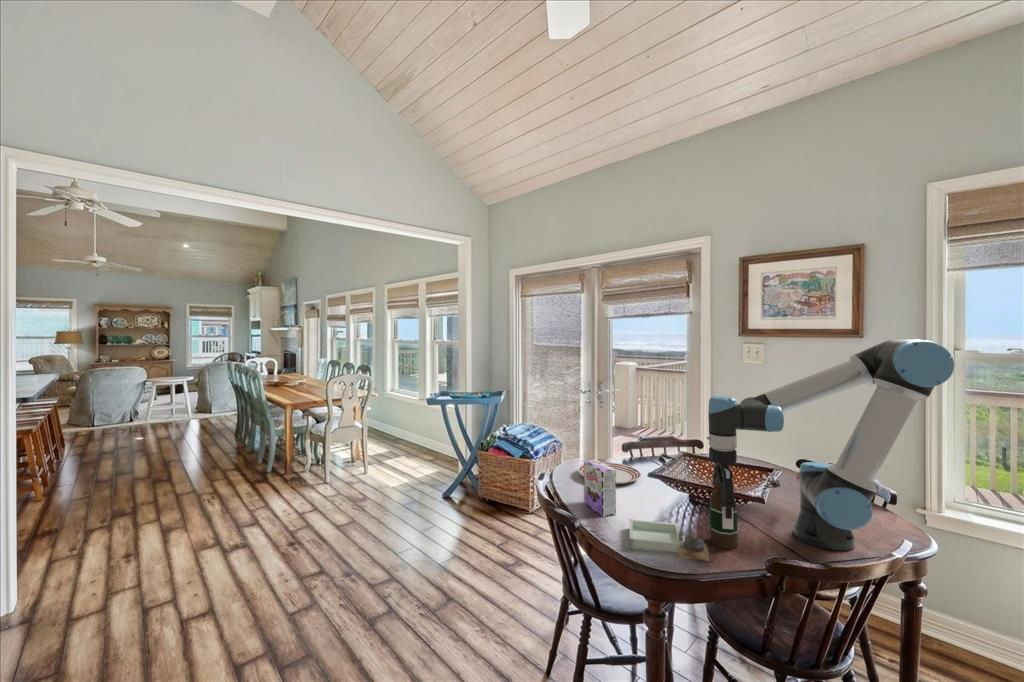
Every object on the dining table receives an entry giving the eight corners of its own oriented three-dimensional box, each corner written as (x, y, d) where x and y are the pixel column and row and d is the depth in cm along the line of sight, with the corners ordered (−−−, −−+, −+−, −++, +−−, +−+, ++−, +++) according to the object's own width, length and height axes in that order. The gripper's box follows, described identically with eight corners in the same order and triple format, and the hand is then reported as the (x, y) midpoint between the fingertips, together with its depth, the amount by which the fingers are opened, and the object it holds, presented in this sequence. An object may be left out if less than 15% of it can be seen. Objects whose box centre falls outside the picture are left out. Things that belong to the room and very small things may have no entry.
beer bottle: (741, 542, 130) (740, 464, 130) (733, 552, 124) (733, 470, 124) (714, 534, 135) (713, 459, 135) (705, 544, 130) (705, 465, 129)
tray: (678, 533, 137) (678, 523, 137) (683, 554, 123) (683, 544, 123) (629, 528, 141) (629, 519, 141) (629, 549, 127) (629, 539, 127)
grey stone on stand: (705, 550, 126) (705, 532, 126) (709, 561, 120) (709, 542, 120) (676, 547, 128) (676, 529, 128) (678, 557, 122) (678, 538, 122)
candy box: (583, 503, 163) (583, 460, 163) (597, 501, 165) (596, 458, 164) (602, 517, 150) (601, 470, 149) (616, 515, 151) (616, 468, 151)
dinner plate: (642, 471, 200) (641, 464, 200) (640, 491, 174) (640, 483, 174) (583, 466, 209) (583, 459, 209) (573, 485, 183) (573, 477, 183)
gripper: (702, 438, 142) (703, 503, 142) (717, 458, 119) (717, 536, 119) (727, 439, 140) (727, 505, 140) (747, 460, 117) (747, 539, 117)
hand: (723, 519), depth 130 cm, fingers open, 12 cm apart
